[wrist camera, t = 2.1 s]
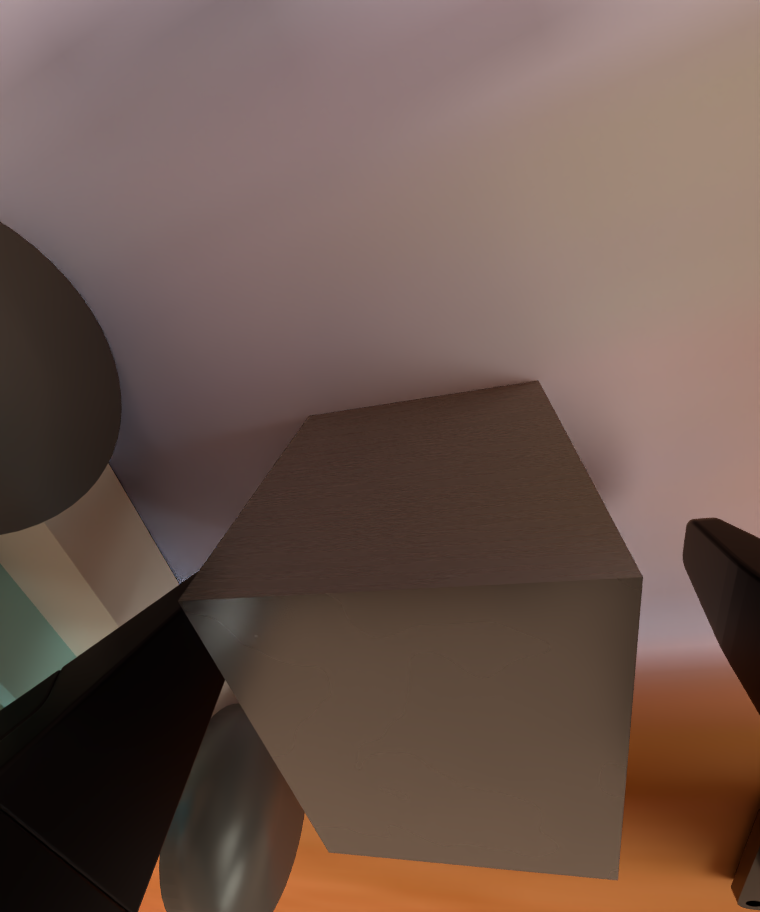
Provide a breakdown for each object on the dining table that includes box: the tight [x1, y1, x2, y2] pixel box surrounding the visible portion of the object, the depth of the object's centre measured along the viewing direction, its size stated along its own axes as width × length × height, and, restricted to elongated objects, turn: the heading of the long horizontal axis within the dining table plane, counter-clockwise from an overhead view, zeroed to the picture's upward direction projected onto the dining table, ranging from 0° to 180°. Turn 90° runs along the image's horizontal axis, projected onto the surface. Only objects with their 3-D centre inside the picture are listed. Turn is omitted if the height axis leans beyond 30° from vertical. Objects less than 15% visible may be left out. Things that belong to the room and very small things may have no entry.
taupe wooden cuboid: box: [178, 381, 643, 880], centre depth 8 cm, size 6×4×5 cm
